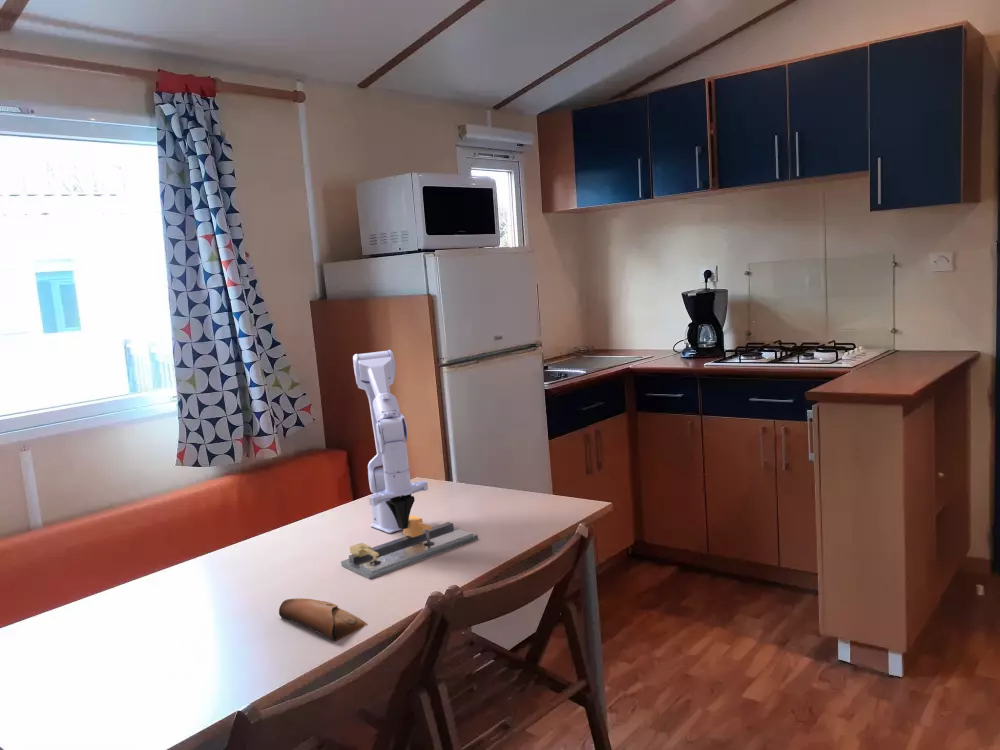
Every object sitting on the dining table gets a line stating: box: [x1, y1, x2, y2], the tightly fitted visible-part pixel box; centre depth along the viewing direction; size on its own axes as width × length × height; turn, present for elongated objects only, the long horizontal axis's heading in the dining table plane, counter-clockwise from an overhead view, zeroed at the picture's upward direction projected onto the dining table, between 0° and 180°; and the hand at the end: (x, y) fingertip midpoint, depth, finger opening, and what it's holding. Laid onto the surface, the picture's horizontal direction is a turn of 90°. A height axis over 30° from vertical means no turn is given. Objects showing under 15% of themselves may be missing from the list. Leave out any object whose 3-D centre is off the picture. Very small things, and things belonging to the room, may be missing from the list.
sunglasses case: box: [278, 597, 368, 642], centre depth 148 cm, size 18×7×7 cm
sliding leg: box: [402, 514, 432, 543], centre depth 182 cm, size 9×3×4 cm, turn 39°
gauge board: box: [340, 521, 479, 580], centre depth 180 cm, size 12×29×4 cm, turn 129°
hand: (403, 527), depth 182 cm, fingers closed
